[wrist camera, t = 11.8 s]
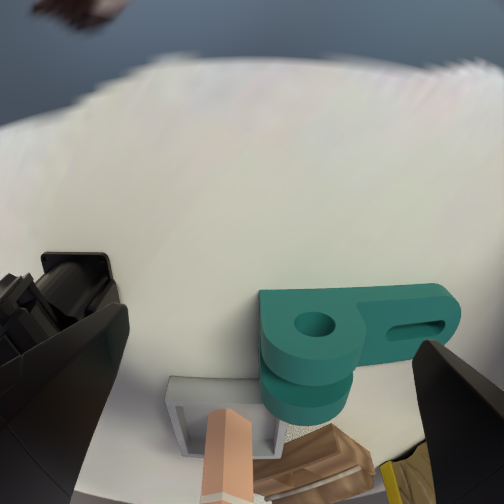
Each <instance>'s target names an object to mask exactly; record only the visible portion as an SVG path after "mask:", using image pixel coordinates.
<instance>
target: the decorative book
mask: <svg viewBox="0 0 504 504" xmlns="http://www.w3.org/2000/svg"><path fill="white" fill-rule="evenodd" d="M380 470H381V474H382V477H383V481H384V485H385V489H386V493H387V496H388V500H389V504H436V499H435V492H434V484H433V478H432V471H431V465H430V460H429V454H428V449H427V443H426V442H424V443H422V444H421V445H419V446H418V447H417V449H416V450H415V452H414V453H413V455H412V456H410V457H409V458H407V459H405V460H401V461H398V462H393V461H388V462H386V463H384V464H383V465H382V466H380Z"/></svg>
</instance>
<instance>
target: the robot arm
mask: <svg viewBox="0 0 504 504" xmlns="http://www.w3.org/2000/svg"><path fill="white" fill-rule="evenodd" d="M45 257H46V258H47V259H48V260H47V259H46V258H45ZM100 258H103V259H104V262H103V261H102V260H101V259H100ZM41 262H42V266H43V269H44V274H43V275H42V276H41V277H40V278H39V279H38V280H37V281H36V282H35V283H34V282H33V280H34V279H33V277H32V276H31V274H30V273H28V274H26V275H25V276H23V277H22V276H19V277H16V276H14V275H12V274H10V273H9V274H7V275H6V276H5V277H4V278H2V279H1V280H0V504H70V500H71V496H72V494H73V491H74V488H75V485H76V482H77V479H78V476H79V473H80V470H81V467H82V464H83V461H84V458H85V456H86V453H87V450H88V447H89V445H90V442H91V439H92V437H93V434H94V431H95V429H96V426H97V424H98V421H99V418H100V416H101V413H102V411H103V408H104V406H105V403H106V401H107V398H108V396H109V394H110V391H111V389H112V386H113V384H114V381H115V379H116V376H117V373H118V369H119V366H120V362H121V359H122V355H123V352H124V349H125V346H126V342H127V339H128V336H129V331H130V326H129V317H128V308H127V306H126V305H125V304H120V301H119V296H118V292H117V287H116V282H115V281H114V279H113V277H112V272H111V267H110V261H109V257H108V256H107V254H105V253H102V252H44V253H43V254H42V255H41ZM412 368H413V374H414V380H415V386H416V393H417V400H418V406H419V411H420V415H421V420H422V424H423V429H424V433H425V438H426V443H427V449H428V454H429V460H430V465H431V471H432V478H433V484H434V492H435V499H436V504H504V392H503V391H502V390H501V389H499V388H498V387H497V386H496V385H494V384H493V383H492V382H490V381H489V380H488V379H487V378H485V377H484V376H483V375H481V374H480V373H479V372H478V371H476V370H475V369H474V368H472V367H471V366H470V365H468V364H467V363H466V362H465V361H463V360H462V359H461V358H459V357H458V356H457V355H455V354H454V353H453V352H451V351H450V350H449V349H447V348H446V347H445V346H443V345H442V344H441V343H439V342H438V341H437V340H433V339H426V340H424V341H423V342H422V343H421V345H420V347H419V349H418V350H417V352H416V354H415V356H414V357H413V360H412Z"/></svg>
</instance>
